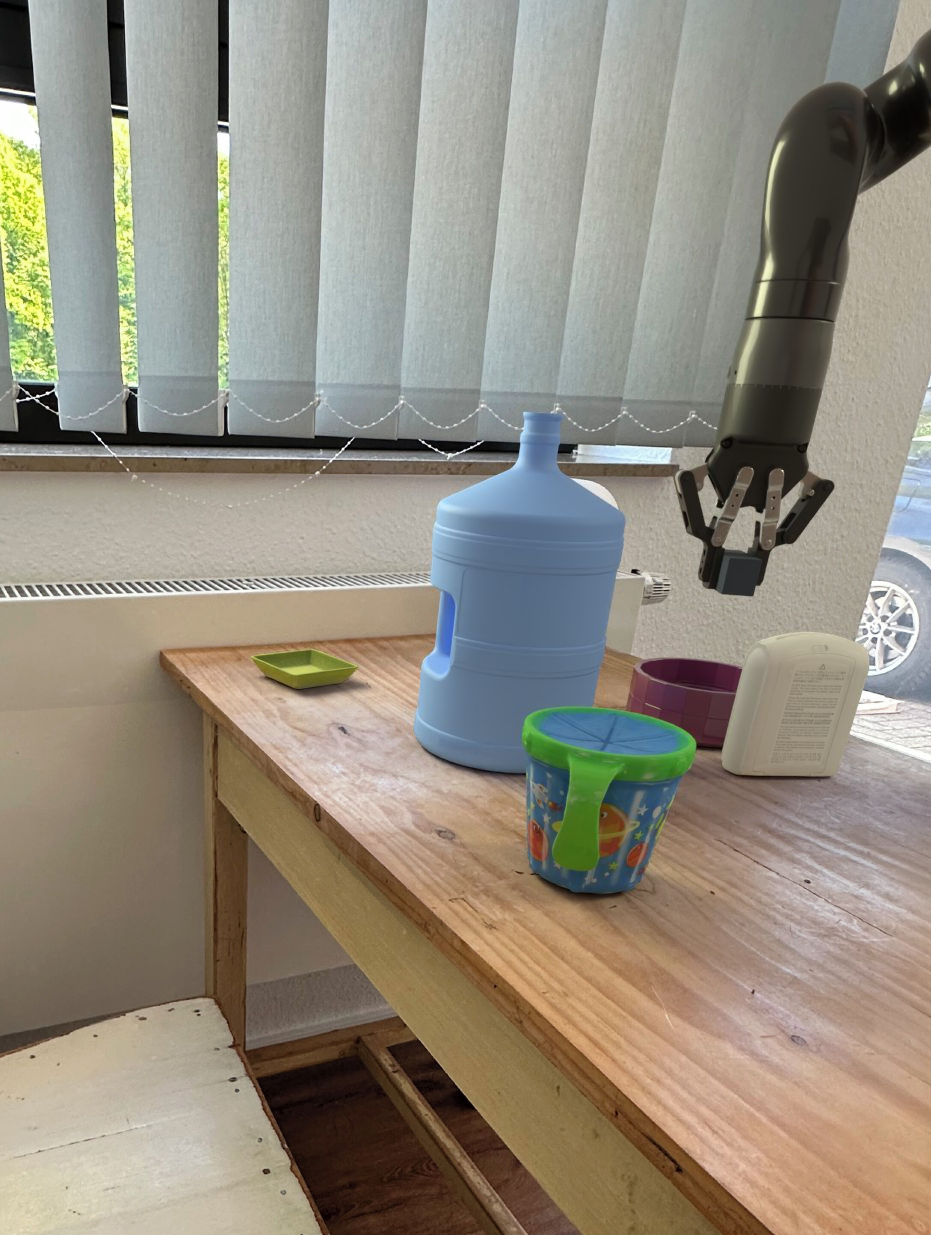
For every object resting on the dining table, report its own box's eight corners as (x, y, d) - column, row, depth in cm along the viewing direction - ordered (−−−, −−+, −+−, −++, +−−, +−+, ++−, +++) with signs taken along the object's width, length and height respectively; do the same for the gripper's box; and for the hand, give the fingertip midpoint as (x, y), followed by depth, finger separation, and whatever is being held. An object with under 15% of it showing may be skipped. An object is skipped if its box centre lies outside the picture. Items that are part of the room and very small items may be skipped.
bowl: (741, 714, 100) (753, 662, 98) (783, 756, 88) (798, 699, 86) (614, 704, 101) (623, 653, 99) (638, 744, 89) (650, 687, 87)
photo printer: (815, 762, 87) (853, 628, 82) (845, 779, 83) (886, 640, 78) (711, 762, 86) (743, 626, 81) (736, 780, 82) (772, 637, 77)
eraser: (703, 582, 90) (710, 548, 89) (733, 584, 90) (741, 550, 89) (721, 594, 85) (729, 557, 83) (753, 596, 85) (762, 559, 83)
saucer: (312, 665, 110) (313, 647, 109) (359, 684, 103) (360, 665, 102) (248, 674, 105) (248, 655, 104) (293, 694, 98) (293, 675, 98)
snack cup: (541, 816, 73) (562, 686, 68) (685, 851, 68) (717, 715, 64) (466, 896, 60) (486, 743, 56) (635, 946, 55) (670, 784, 51)
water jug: (609, 743, 89) (670, 419, 78) (546, 792, 77) (607, 417, 66) (459, 708, 97) (494, 409, 85) (381, 747, 85) (410, 405, 73)
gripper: (702, 376, 77) (659, 591, 84) (880, 386, 76) (821, 602, 84) (679, 378, 84) (641, 576, 91) (842, 387, 83) (791, 587, 90)
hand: (728, 588), depth 87 cm, fingers closed on eraser, 2 cm apart
